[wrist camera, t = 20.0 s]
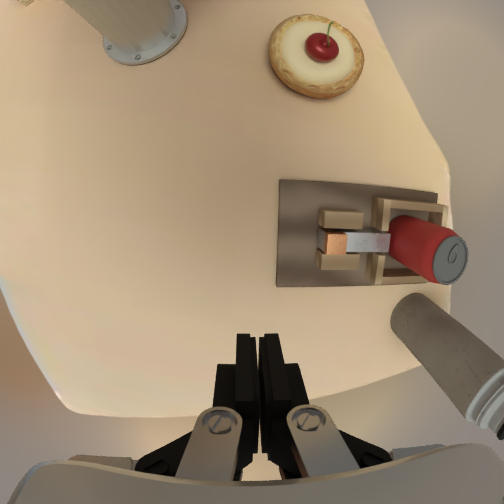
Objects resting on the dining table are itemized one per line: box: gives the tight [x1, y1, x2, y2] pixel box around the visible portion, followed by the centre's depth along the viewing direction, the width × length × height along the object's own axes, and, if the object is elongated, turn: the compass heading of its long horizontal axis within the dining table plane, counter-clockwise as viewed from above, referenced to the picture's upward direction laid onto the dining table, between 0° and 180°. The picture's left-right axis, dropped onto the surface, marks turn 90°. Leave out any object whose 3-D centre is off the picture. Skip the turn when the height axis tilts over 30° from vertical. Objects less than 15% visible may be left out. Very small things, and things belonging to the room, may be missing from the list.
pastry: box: [269, 14, 364, 98], centre depth 28 cm, size 12×12×9 cm
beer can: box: [386, 215, 468, 285], centre depth 31 cm, size 7×7×12 cm
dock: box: [276, 180, 448, 287], centre depth 36 cm, size 14×24×4 cm, turn 89°
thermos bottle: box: [391, 293, 504, 440], centre depth 28 cm, size 8×8×28 cm
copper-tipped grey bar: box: [317, 227, 391, 255], centre depth 35 cm, size 2×9×4 cm, turn 89°
